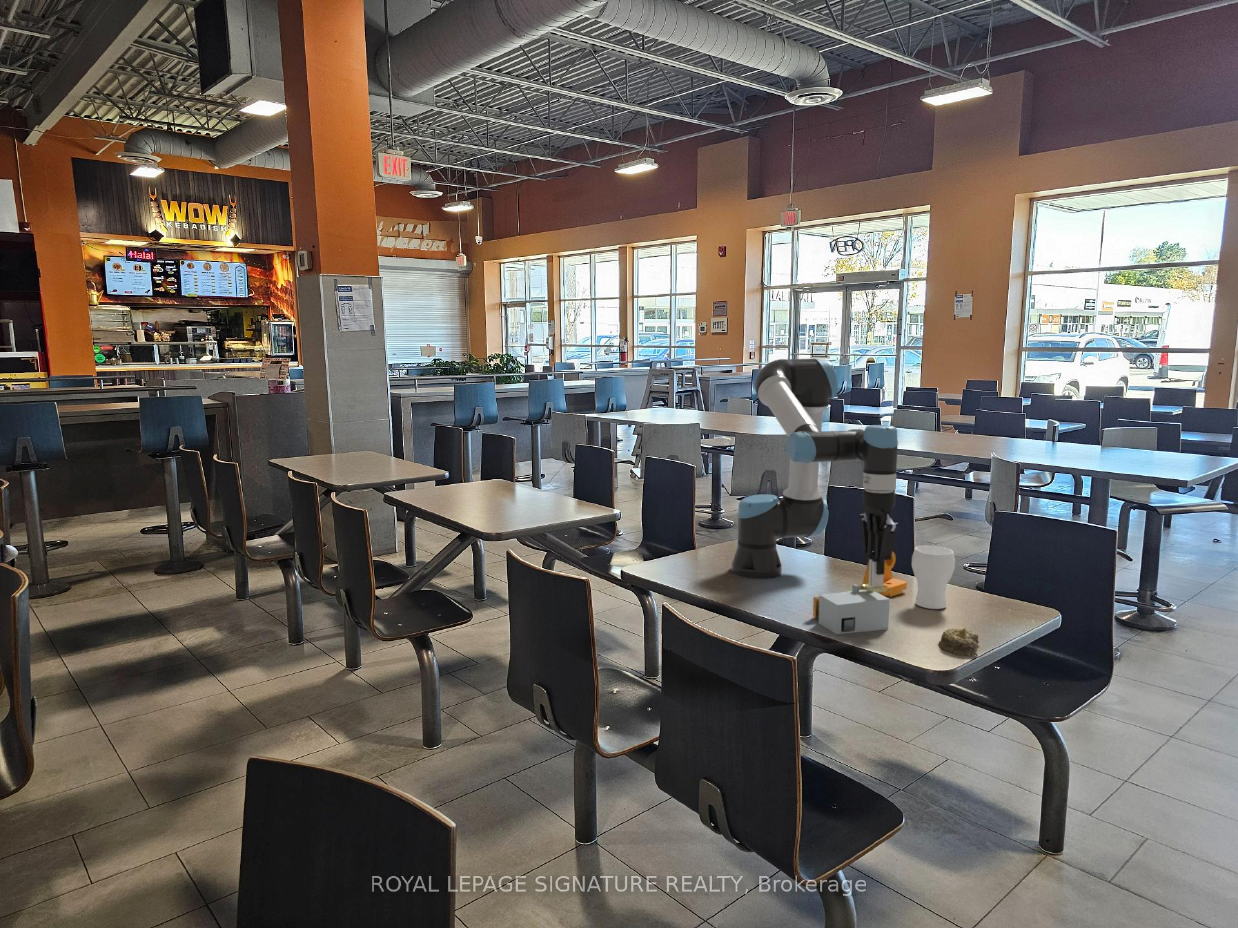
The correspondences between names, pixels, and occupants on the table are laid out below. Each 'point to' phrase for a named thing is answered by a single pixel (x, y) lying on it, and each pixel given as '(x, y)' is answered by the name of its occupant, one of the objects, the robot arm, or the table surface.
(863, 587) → the latch bar
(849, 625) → the pin
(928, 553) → the cup
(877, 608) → the block
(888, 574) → the bracket
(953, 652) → the olive green round lump
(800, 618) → the table surface
